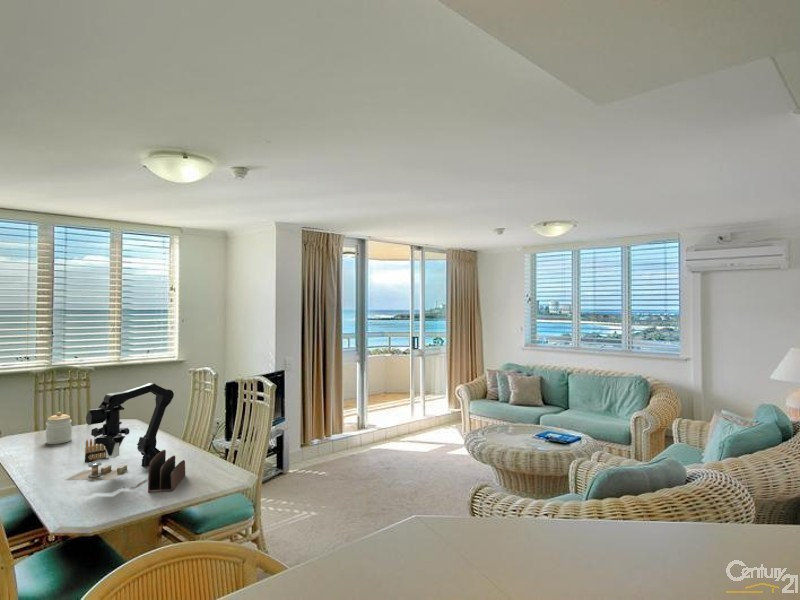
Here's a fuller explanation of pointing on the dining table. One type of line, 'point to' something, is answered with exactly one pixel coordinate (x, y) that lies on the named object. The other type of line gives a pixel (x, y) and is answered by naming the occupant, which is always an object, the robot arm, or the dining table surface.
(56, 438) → the jar
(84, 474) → the board
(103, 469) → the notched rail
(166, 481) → the letter holder
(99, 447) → the ammunition clip
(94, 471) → the bobbin
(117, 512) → the dining table surface
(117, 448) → the white block
